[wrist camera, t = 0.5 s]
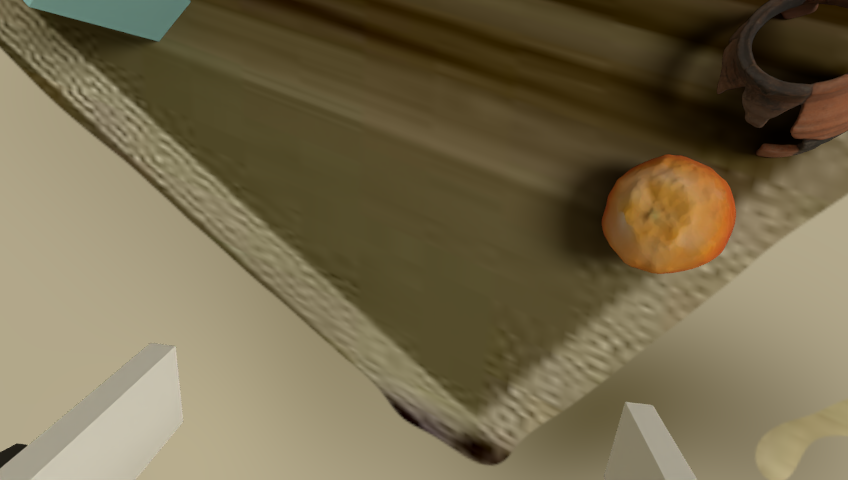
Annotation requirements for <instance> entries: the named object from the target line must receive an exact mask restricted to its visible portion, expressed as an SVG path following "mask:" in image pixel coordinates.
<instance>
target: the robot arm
mask: <svg viewBox="0 0 848 480" xmlns="http://www.w3.org/2000/svg"><path fill="white" fill-rule="evenodd" d="M182 422H183V413H182V404H181V393H180V384H179V375H178V364H177V354H176V346H172V345H163V344H156V343H150V344H149V345H147V346H146V347H145V348H144V349H143V350H141V352H139V353H138V354H137V355H135V356H134V357H133V358H132V359H131V360H129V361H128V362H127V363H126V364H125V365H124V366H122V367H121V368H120V369H119V370H117V371H116V372H115V373H114V374H113V375H112V376H110V377H109V378H108V379H107V380H105V381H104V382H103V383H102V384H101V385H99V386H98V387H97V388H96V389H95V390H94V391H92V392H91V393H90V394H89V395H88V396H86V397H85V398H84V399H83V400H82V401H81V402H79V403H78V404H77V405H76V406H74V407H73V408H72V409H71V410H70V411H68V412H67V413H66V414H65V415H64V416H62V417H61V418H60V419H59V420H58V421H57V422H55V423H54V424H53V425H52V426H51V427H49V428H48V429H47V430H46V431H44V432H43V433H42V434H41V435H40V436H38V437H37V438H36V439H35V440H34V441H32V442H31V443H30V444H29V445H24V444H15V445H13V446H11V447H10V448H8V449H6V450H4V451H2V452H0V480H136V479H137V477H138V476H139V475H140V474H141V472H142V471H143V470H144V469H145V468H146V466H147V465H148V464H149V463H150V461H151V460H152V459H153V458H154V457H155V455H156V454H157V453H158V452H159V451H160V449H161V448H162V447H163V445H164V444H165V443H166V442H167V441H168V440H169V438H170V437H171V436H172V435H173V433H174V432H175V431H176V430H177V429H178V427H179V426H180V425H181V424H182ZM604 478H605V480H697V479H696V477H695V475H694V474H693V472H692V470H691V469H690V467H689V465H688V463H687V462H686V460H685V458H684V457H683V455H682V453H681V452H680V450H679V448H678V447H677V445H676V443H675V442H674V440H673V438H672V437H671V435H670V433H669V432H668V430H667V428H666V427H665V425H664V423H663V422H662V420H661V418H660V417H659V415H658V413H657V411H656V410H655V408H654V406H653V405H647V404H639V403H630V402H625V405H624V409H623V412H622V415H621V419H620V422H619V426H618V429H617V433H616V436H615V440H614V443H613V447H612V450H611V454H610V457H609V461H608V464H607V468H606V471H605V474H604Z"/></svg>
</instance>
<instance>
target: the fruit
mask: <svg viewBox="0 0 848 480" xmlns="http://www.w3.org/2000/svg"><path fill="white" fill-rule="evenodd" d="M735 218H736V209H735V202H734V198H733V195H732V192H731V189H730V187H729V185H728V183H727V182H726V181H725V180H724V179H723V178H721V177H720V176H719V175H718V174H717V173H716V172H715V171H714V170H713V169H712V168H710V167H708V166H706V165H703V164H701V163H699V162H697V161H694V160H692V159H690V158H687V157H684V156H681V155H670V154H667V155H663V156H660V157H658V158H654V159H651V160H649V161H646V162H644V163H642V164H639V165H637V166H635V167H633V168H632V169H630V170H629V171H627V172H626V173H625V174H624V175H623V176H622V177H620V178H619V179H618V180H617V181H616V183H615V185H614V187H613V188H612V190H611V192H610V193H609V195H608V198H607V205H606V208H605V211H604V214H603V217H602V228H603V233H604V236H605V237H606V239H607V240H608V243H609V245H610V246H611V247H612V249H613V250H614V251H615V252H616V253H617V254H618V255H619V257H620V258H621V259H622V260H623V262H624V263H626V264H628V265H629V266H631V267H635V268H638V269H641V270H644V271H648V272H650V273H657V274H663V273H674V272H680V271H685V270H689V269H693V268H696V267H699V266H701V265H704V264H706V263H708V262H710V261H711V260H713V259H714V258H716V257H717V256H718V255H719V254H720V253H721V252H722V251H723V249H724V248H725V246H726V244H727V242H728V240H729V238H730V235H731V233H732V230H733V227H734V224H735Z"/></svg>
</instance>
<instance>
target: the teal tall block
mask: <svg viewBox="0 0 848 480" xmlns="http://www.w3.org/2000/svg"><path fill="white" fill-rule="evenodd" d="M23 1H24V2H25V3H26V4H27V5H28V6H29V7H31V8H35V9H39V10H43V11H46V12H50V13H54V14H58V15H61V16H65V17H69V18H73V19H76V20H80V21H84V22H88V23H91V24H95V25H99V26H103V27H106V28H110V29H114V30H117V31H121V32H125V33H129V34H132V35H136V36H140V37H144V38H147V39H151V40H155V41H160V40H161V38H162V37H163V36H164V35H165V33H166V32H167V31H168V30H169V28H170V27H171V26H172V25H173V23H174V22H175V21H176V20H177V18H178V17H179V16H180V15H181V14H182V12H183V11H184V10H185V9H186V7H187V6H188V5H189V4H190V2H191V1H190V0H23Z"/></svg>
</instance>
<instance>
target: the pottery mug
mask: <svg viewBox="0 0 848 480" xmlns="http://www.w3.org/2000/svg"><path fill="white" fill-rule="evenodd" d="M818 4H828V5H836V6H841V7H845V8H848V0H770V1H768V2H767V3H765V4H764V5H762V6H761V7H760V8H759V9H757V10H756V11H755V12H754V14H753V15H752V16H751V17H750V18H749V19H748V20H747V21H746V22H745V23H744V24H743V25H741V26H740V27H739V28H738V30H737V31H736V32H735V33H734V34H733V35H732V37H731V38H730V40H729V43H730V44H729V45H728V46H727V47H726V48H725V50H724V53H723V58H722V70H721V75H720V80H719V82H718V86H717V94H721V93H722V92H724V91H726V90H730V89H735V88H740V87H745V90H744V93H743V95H742V105H743V108H744V110H745V120H746V121H747V122H748V123H750V124H751V125H753V126H754V127H757V128H761V127H763V126H764V125H765V123H766V122H767V121H768V120H769V119H770V118H774V117H776V116H778V115H780V114H782V113H783V112H785V111H787V110H789V109H792V108H793V107H796V106H798V105H801V110H800V113H799V116H798V118H797V120H796V122H795V123H794V124H793V126H792V127H791V130H790V133H791V135H792V137H794V138H795V139H803V141H802V142H801V143H799V144H797V145H778V144H768V143H764V144H762V145H761V147H760V149H758V150H757V151H756V155H758V156H763V157H786V156H792V155H797V154H801V153H803V152H807V151H809V150H812V149H814V148H816V147H818V146H819V145H821V144H823V143H825V142H828V141H830V140H832V139H833V138H835V137H837V136H839V135H841V134H842V133H844V132H846V131H848V73H847V74H844V75H842V76H839V77H837V78H834V79H831V80H827V81H823V82H817V83H812V84H798V83H790V82H785V81H782V80H779V79H776V78H774V77H772V76H770V75H768V74H767V73H765V72H764V71H763V70H762V69H761V68H759V67H758V66H757V65H756V62H755V60H754V58H753V53H752V42H753V39H754V37H755V35H756V33H757V32H758V30H759V29H760V28H761V27H762V26H763V25H764V24H765V23H766V22H767V21H768V20H769V19H771V18H772V17H774V16H775V15H777V14H779V13H781V14H782V15H783V17H784V18H785V19H791V18H795V17H800V16H803V15H807V14H810V13H812V12H814V11H815V10H816V9H817V8H818Z"/></svg>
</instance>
